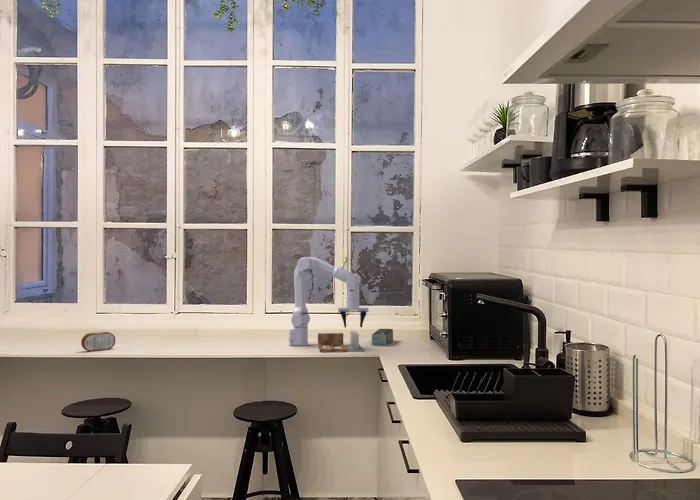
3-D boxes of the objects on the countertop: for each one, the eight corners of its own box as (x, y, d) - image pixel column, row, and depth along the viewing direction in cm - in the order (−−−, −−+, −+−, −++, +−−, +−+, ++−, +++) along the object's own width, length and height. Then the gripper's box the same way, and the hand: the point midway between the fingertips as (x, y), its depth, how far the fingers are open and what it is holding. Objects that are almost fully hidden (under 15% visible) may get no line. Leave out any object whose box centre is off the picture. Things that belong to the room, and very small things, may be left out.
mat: (349, 351, 278) (349, 350, 278) (345, 345, 295) (345, 344, 295) (363, 351, 278) (363, 350, 278) (359, 345, 296) (359, 344, 296)
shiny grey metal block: (352, 349, 281) (352, 334, 281) (350, 345, 292) (350, 331, 292) (358, 349, 281) (358, 334, 281) (355, 345, 292) (356, 331, 292)
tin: (113, 348, 284) (113, 330, 284) (116, 349, 282) (116, 331, 282) (80, 351, 274) (80, 333, 274) (83, 352, 272) (83, 334, 272)
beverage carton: (371, 345, 296) (371, 332, 296) (378, 340, 314) (378, 327, 314) (386, 346, 294) (386, 333, 294) (393, 340, 312) (393, 328, 312)
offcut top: (323, 351, 279) (323, 349, 279) (322, 346, 292) (322, 345, 292) (330, 351, 279) (330, 349, 279) (329, 346, 292) (329, 345, 292)
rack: (320, 352, 276) (320, 339, 275) (317, 345, 295) (317, 333, 295) (347, 351, 277) (347, 339, 277) (343, 345, 296) (343, 333, 296)
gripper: (339, 299, 282) (338, 328, 282) (369, 299, 284) (369, 328, 284) (337, 298, 289) (337, 326, 289) (367, 298, 291) (367, 326, 291)
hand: (353, 327), depth 287 cm, fingers open, 7 cm apart
